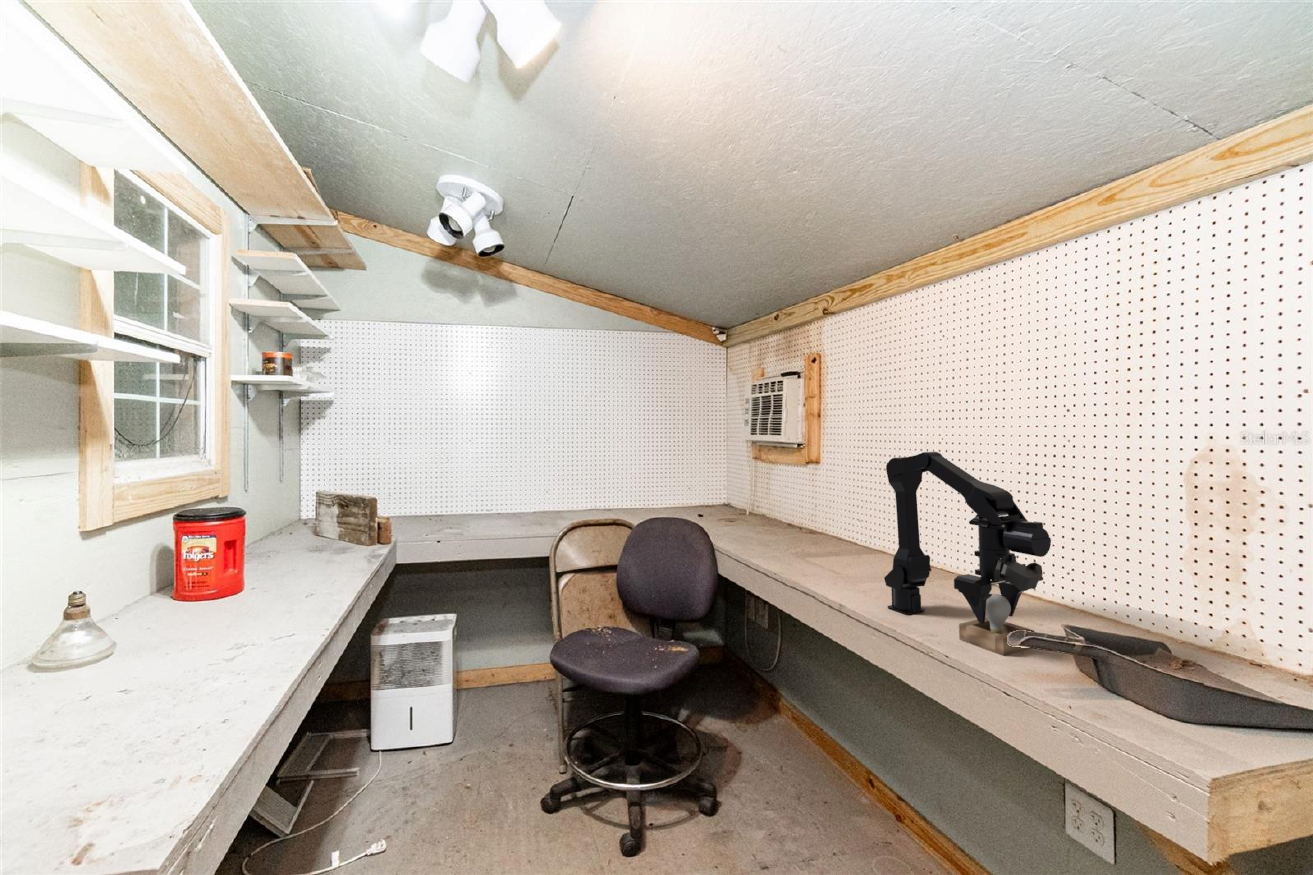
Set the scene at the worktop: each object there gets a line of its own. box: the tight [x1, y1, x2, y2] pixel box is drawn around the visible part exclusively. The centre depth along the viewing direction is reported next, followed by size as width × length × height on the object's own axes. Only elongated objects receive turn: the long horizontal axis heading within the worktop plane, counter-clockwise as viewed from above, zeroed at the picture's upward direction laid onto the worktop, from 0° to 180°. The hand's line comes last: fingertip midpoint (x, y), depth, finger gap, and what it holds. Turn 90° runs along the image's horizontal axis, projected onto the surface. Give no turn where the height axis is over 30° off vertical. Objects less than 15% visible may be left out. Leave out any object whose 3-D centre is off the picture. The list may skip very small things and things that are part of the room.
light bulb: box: [985, 593, 1011, 634], centre depth 119 cm, size 6×5×10 cm
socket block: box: [958, 616, 1035, 657], centre depth 119 cm, size 10×10×4 cm
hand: (995, 619), depth 119 cm, fingers open, 9 cm apart
